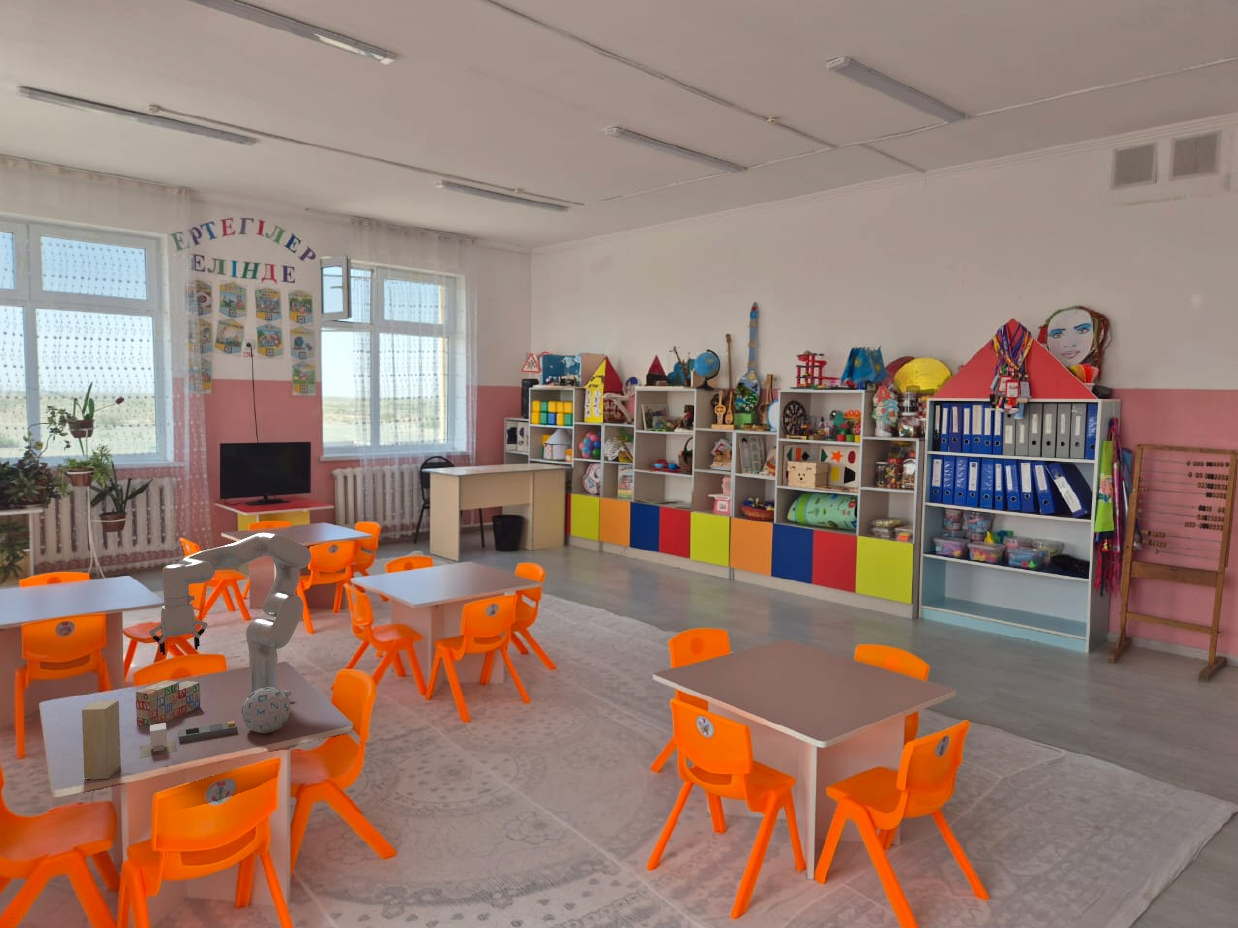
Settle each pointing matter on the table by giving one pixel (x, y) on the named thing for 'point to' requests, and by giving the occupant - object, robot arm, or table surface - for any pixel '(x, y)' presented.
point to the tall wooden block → (101, 739)
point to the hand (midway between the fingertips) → (180, 651)
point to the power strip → (207, 731)
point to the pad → (148, 751)
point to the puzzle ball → (266, 710)
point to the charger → (158, 736)
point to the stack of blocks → (166, 701)
